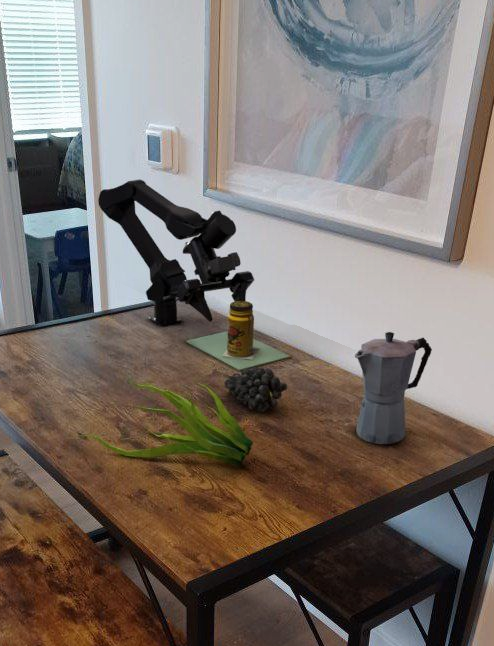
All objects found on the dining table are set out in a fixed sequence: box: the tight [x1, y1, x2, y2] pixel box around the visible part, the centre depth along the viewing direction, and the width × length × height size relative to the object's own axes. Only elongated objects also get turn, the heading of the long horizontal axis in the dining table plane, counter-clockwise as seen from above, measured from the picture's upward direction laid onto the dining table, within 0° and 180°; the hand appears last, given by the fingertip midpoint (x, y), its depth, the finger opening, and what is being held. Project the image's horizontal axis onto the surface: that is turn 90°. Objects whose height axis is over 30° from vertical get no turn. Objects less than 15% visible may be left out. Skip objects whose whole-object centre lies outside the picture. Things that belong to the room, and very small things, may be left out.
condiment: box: [222, 300, 260, 360], centre depth 164 cm, size 7×8×12 cm
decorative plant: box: [65, 365, 254, 468], centre depth 121 cm, size 18×30×15 cm, turn 50°
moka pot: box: [354, 331, 433, 445], centre depth 127 cm, size 10×15×20 cm, turn 113°
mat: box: [185, 330, 291, 372], centre depth 169 cm, size 22×15×1 cm
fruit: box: [224, 366, 288, 413], centre depth 142 cm, size 9×8×15 cm
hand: (228, 318), depth 167 cm, fingers open, 9 cm apart
